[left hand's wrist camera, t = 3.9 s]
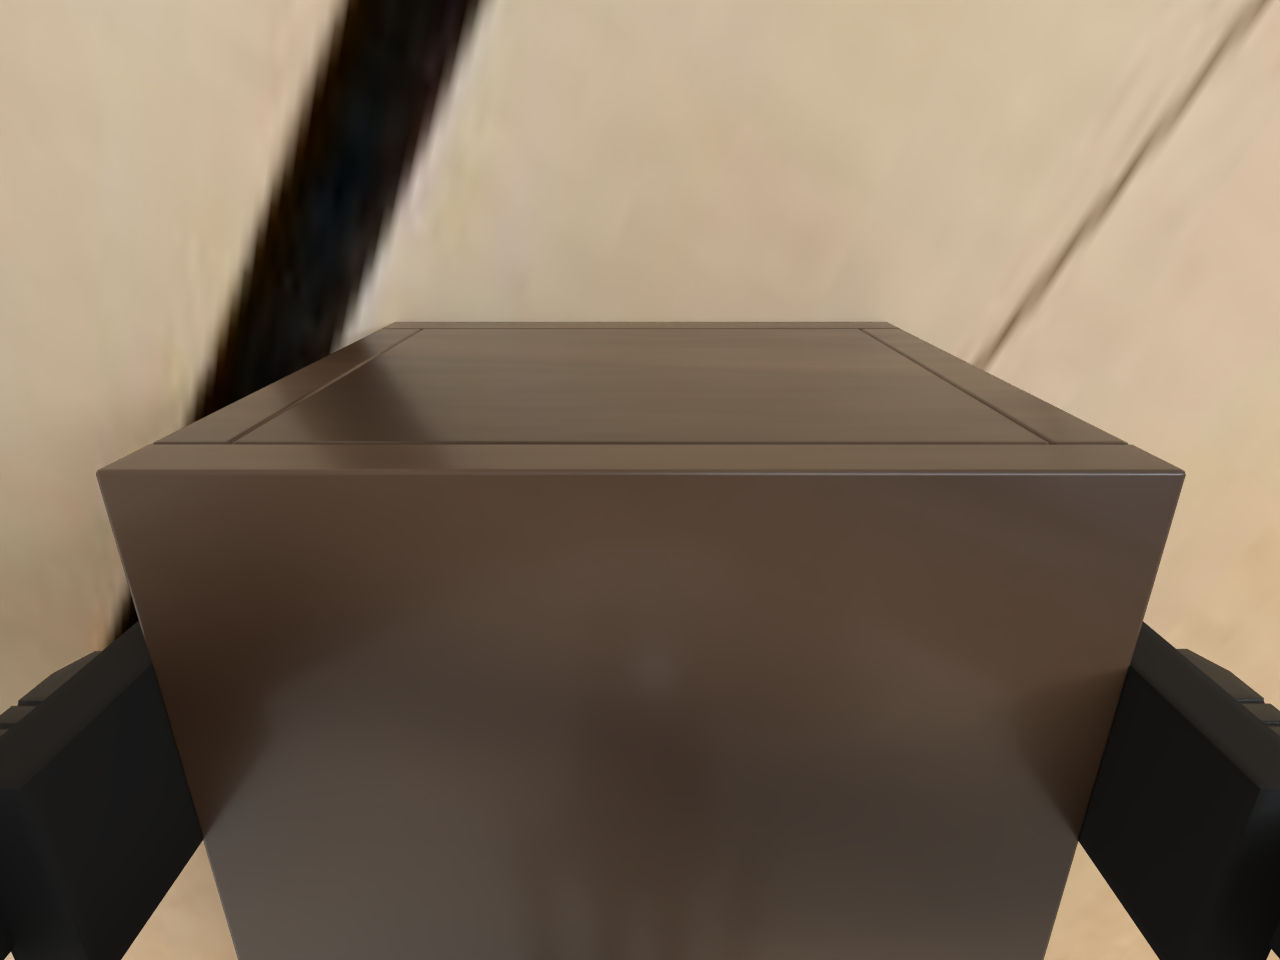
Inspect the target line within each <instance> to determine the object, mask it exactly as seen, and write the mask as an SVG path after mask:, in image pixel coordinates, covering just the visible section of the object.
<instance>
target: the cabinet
mask: <svg viewBox="0 0 1280 960" xmlns="http://www.w3.org/2000/svg"><path fill="white" fill-rule="evenodd" d="M96 476H97V479H98V482H99V486H100V489H101V493H102V496H103V500H104V503H105V506H106V510H107V513H108V517H109V520H110V523H111V527H112V530H113V534H114V537H115V540H116V544H117V547H118V551H119V554H120V558H121V561H122V564H123V568H124V571H125V575H126V578H127V581H128V585H129V588H130V592H131V595H132V598H133V602H134V605H135V609H136V612H137V616H138V619H139V622H140V626H141V629H142V633H143V636H144V639H145V643H146V646H147V650H148V653H149V656H150V660H151V663H152V667H153V670H154V674H155V677H156V680H157V684H158V687H159V691H160V694H161V697H162V701H163V704H164V708H165V711H166V714H167V718H168V721H169V725H170V728H171V732H172V735H173V738H174V742H175V745H176V749H177V752H178V755H179V759H180V762H181V766H182V769H183V772H184V776H185V779H186V783H187V786H188V790H189V793H190V796H191V800H192V803H193V807H194V810H195V813H196V817H197V820H198V824H199V827H200V830H201V834H202V837H203V841H204V844H205V848H206V851H207V854H208V858H209V861H210V865H211V868H212V871H213V875H214V878H215V882H216V885H217V888H218V892H219V895H220V899H221V902H222V906H223V909H224V912H225V916H226V919H227V923H228V926H229V929H230V933H231V936H232V940H233V943H234V946H235V950H236V953H237V957H238V960H1044V956H1045V953H1046V949H1047V946H1048V943H1049V939H1050V936H1051V932H1052V929H1053V926H1054V922H1055V919H1056V915H1057V912H1058V908H1059V905H1060V902H1061V898H1062V895H1063V891H1064V888H1065V885H1066V881H1067V878H1068V874H1069V871H1070V868H1071V864H1072V861H1073V857H1074V854H1075V850H1076V847H1077V844H1078V840H1079V837H1080V833H1081V830H1082V827H1083V823H1084V820H1085V816H1086V813H1087V810H1088V806H1089V803H1090V799H1091V796H1092V792H1093V789H1094V786H1095V782H1096V779H1097V775H1098V772H1099V769H1100V765H1101V762H1102V758H1103V755H1104V752H1105V748H1106V745H1107V741H1108V738H1109V734H1110V731H1111V728H1112V724H1113V721H1114V717H1115V714H1116V711H1117V707H1118V704H1119V700H1120V697H1121V694H1122V690H1123V687H1124V683H1125V680H1126V676H1127V673H1128V670H1129V666H1130V663H1131V659H1132V656H1133V653H1134V649H1135V646H1136V642H1137V639H1138V636H1139V632H1140V629H1141V625H1142V622H1143V618H1144V615H1145V612H1146V608H1147V605H1148V601H1149V598H1150V595H1151V591H1152V588H1153V584H1154V581H1155V578H1156V574H1157V571H1158V567H1159V564H1160V561H1161V557H1162V554H1163V550H1164V547H1165V543H1166V540H1167V537H1168V533H1169V530H1170V526H1171V523H1172V520H1173V516H1174V513H1175V509H1176V506H1177V503H1178V499H1179V496H1180V492H1181V489H1182V485H1183V482H1184V479H1185V472H1184V470H1182V469H1180V468H1178V467H1176V466H1174V465H1172V464H1170V463H1168V462H1166V461H1164V460H1162V459H1160V458H1158V457H1156V456H1154V455H1152V454H1150V453H1148V452H1146V451H1144V450H1142V449H1140V448H1138V447H1136V446H1134V445H1129V444H1128V443H1127V442H1125V441H1123V440H1121V439H1119V438H1117V437H1115V436H1113V435H1111V434H1109V433H1107V432H1105V431H1103V430H1101V429H1099V428H1097V427H1095V426H1093V425H1091V424H1089V423H1087V422H1085V421H1083V420H1081V419H1079V418H1077V417H1075V416H1073V415H1071V414H1069V413H1067V412H1065V411H1063V410H1061V409H1059V408H1057V407H1055V406H1053V405H1051V404H1049V403H1047V402H1045V401H1043V400H1041V399H1039V398H1037V397H1035V396H1033V395H1031V394H1029V393H1027V392H1025V391H1023V390H1021V389H1019V388H1017V387H1015V386H1013V385H1011V384H1009V383H1007V382H1005V381H1003V380H1001V379H999V378H997V377H995V376H993V375H991V374H989V373H987V372H985V371H983V370H981V369H979V368H977V367H975V366H973V365H971V364H969V363H967V362H965V361H963V360H961V359H959V358H957V357H955V356H953V355H951V354H949V353H947V352H945V351H943V350H941V349H939V348H937V347H935V346H933V345H931V344H929V343H927V342H925V341H923V340H921V339H919V338H917V337H915V336H913V335H911V334H909V333H907V332H905V331H903V330H901V329H900V328H898V327H896V326H894V325H892V324H890V323H887V322H395V323H393V324H391V325H389V326H387V327H385V328H383V329H381V330H379V331H377V332H375V333H373V334H371V335H369V336H367V337H365V338H363V339H361V340H359V341H357V342H354V343H352V344H350V345H348V346H346V347H344V348H342V349H340V350H338V351H336V352H334V353H332V354H330V355H328V356H326V357H324V358H322V359H320V360H318V361H316V362H314V363H312V364H310V365H308V366H306V367H304V368H302V369H300V370H298V371H296V372H294V373H292V374H290V375H288V376H286V377H284V378H282V379H280V380H278V381H276V382H274V383H272V384H270V385H268V386H266V387H264V388H262V389H260V390H258V391H256V392H254V393H252V394H250V395H248V396H246V397H244V398H242V399H240V400H238V401H236V402H234V403H232V404H230V405H228V406H226V407H224V408H222V409H220V410H218V411H216V412H214V413H212V414H210V415H208V416H206V417H204V418H202V419H200V420H198V421H196V422H194V423H192V424H190V425H188V426H186V427H184V428H182V429H180V430H178V431H176V432H174V433H172V434H170V435H168V436H166V437H164V438H162V439H160V440H158V441H156V442H154V443H153V444H150V445H148V446H146V447H144V448H142V449H140V450H138V451H136V452H134V453H132V454H130V455H128V456H126V457H124V458H122V459H120V460H118V461H116V462H114V463H112V464H110V465H108V466H106V467H104V468H102V469H100V470H98V471H97V474H96Z"/></svg>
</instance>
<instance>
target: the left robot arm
mask: <svg viewBox="0 0 1280 960" xmlns="http://www.w3.org/2000/svg"><path fill="white" fill-rule="evenodd" d="M18 702H19V703H18V706H11V707H10V708H9V709H8V710H6V711H5V712H4V713H3V714H1V715H0V960H4V959H5V958H6V957H7V955H8V954H9V953H10V952H12V954H13V957H14V959H15V960H121V959H122V958H123V956H124V955H125V953H126V952H127V950H128V949H129V947H130V946H131V944H132V943H133V941H134V940H135V939H136V937H137V936H138V934H139V933H140V931H141V930H142V928H143V927H144V925H145V924H146V922H147V921H148V919H149V918H150V917H151V915H152V914H153V912H154V911H155V909H156V908H157V906H158V905H159V903H160V902H161V900H162V899H163V898H164V896H165V895H166V893H167V892H168V890H169V889H170V887H171V886H172V884H173V883H174V881H175V880H176V879H177V877H178V876H179V874H180V873H181V871H182V870H183V868H184V867H185V865H186V864H187V862H188V861H189V860H190V858H191V857H192V855H193V854H194V852H195V851H196V849H197V848H198V846H199V845H200V843H201V842H202V841H203V837H202V834H201V830H200V827H199V824H198V820H197V817H196V813H195V810H194V807H193V803H192V800H191V796H190V793H189V790H188V786H187V783H186V779H185V776H184V772H183V769H182V766H181V762H180V759H179V755H178V752H177V749H176V745H175V742H174V738H173V735H172V732H171V728H170V725H169V721H168V718H167V714H166V711H165V708H164V704H163V701H162V697H161V694H160V691H159V687H158V684H157V680H156V677H155V674H154V670H153V667H152V663H151V660H150V656H149V653H148V650H147V646H146V643H145V639H144V636H143V633H142V629H141V626H140V622H139V621H138V622H137V623H135V624H134V625H133V626H132V627H131V628H129V629H128V630H127V631H126V632H125V633H123V634H122V635H121V636H120V637H119V638H117V639H116V640H115V641H114V642H113V643H112V644H110V645H109V646H108V647H107V648H106V649H104V650H103V651H95V652H93V653H91V654H89V655H87V656H85V657H83V658H81V659H79V660H77V661H76V662H74V663H72V664H70V665H68V666H66V667H64V668H62V669H60V670H58V671H57V672H55V673H53V674H51V675H50V676H49V677H47V678H46V679H45V680H44V681H42V682H41V683H40V684H39V685H38V686H36V687H35V688H34V689H33V690H31V691H30V692H29V693H28V694H26V695H25V696H24V697H23V698H21V699H20V700H19V701H18ZM1078 841H1079V842H1080V844H1081V845H1082V847H1083V848H1084V850H1085V851H1086V853H1087V854H1088V855H1089V857H1090V858H1091V860H1092V861H1093V863H1094V864H1095V866H1096V867H1097V869H1098V870H1099V872H1100V873H1101V874H1102V876H1103V877H1104V879H1105V880H1106V882H1107V883H1108V885H1109V886H1110V888H1111V889H1112V891H1113V892H1114V893H1115V895H1116V896H1117V898H1118V899H1119V901H1120V902H1121V904H1122V905H1123V907H1124V908H1125V910H1126V911H1127V912H1128V914H1129V915H1130V917H1131V918H1132V920H1133V921H1134V923H1135V924H1136V926H1137V927H1138V929H1139V930H1140V931H1141V933H1142V934H1143V936H1144V937H1145V939H1146V940H1147V942H1148V943H1149V945H1150V946H1151V948H1152V949H1153V950H1154V952H1155V953H1156V955H1157V956H1158V958H1159V959H1160V960H1266V959H1267V957H1268V955H1269V953H1270V950H1271V949H1272V950H1273V951H1274V952H1275V954H1276V955H1277V956H1278V957H1279V958H1280V711H1279V710H1278V709H1276V708H1275V707H1274V706H1273V705H1271V704H1265V703H1264V698H1263V697H1261V696H1260V695H1259V694H1258V693H1256V692H1255V691H1254V690H1253V689H1251V688H1250V687H1249V686H1248V685H1246V684H1245V683H1244V682H1243V681H1241V680H1240V679H1239V678H1238V677H1236V676H1235V675H1234V674H1233V673H1231V672H1230V671H1228V670H1226V669H1224V668H1222V667H1220V666H1219V665H1217V664H1215V663H1213V662H1211V661H1209V660H1207V659H1205V658H1203V657H1201V656H1199V655H1198V654H1196V653H1194V652H1192V651H1190V650H1188V649H1175V648H1174V647H1173V646H1172V645H1171V644H1169V643H1168V642H1167V641H1166V640H1165V639H1163V638H1162V637H1161V636H1160V635H1159V634H1157V633H1156V632H1155V631H1154V630H1153V629H1151V628H1150V627H1149V626H1148V625H1147V624H1145V623H1144V622H1142V625H1141V629H1140V632H1139V636H1138V639H1137V642H1136V646H1135V649H1134V653H1133V656H1132V659H1131V663H1130V666H1129V670H1128V673H1127V676H1126V680H1125V683H1124V687H1123V690H1122V694H1121V697H1120V700H1119V704H1118V707H1117V711H1116V714H1115V717H1114V721H1113V724H1112V728H1111V731H1110V734H1109V738H1108V741H1107V745H1106V748H1105V752H1104V755H1103V758H1102V762H1101V765H1100V769H1099V772H1098V775H1097V779H1096V782H1095V786H1094V789H1093V792H1092V796H1091V799H1090V803H1089V806H1088V810H1087V813H1086V816H1085V820H1084V823H1083V827H1082V830H1081V833H1080V837H1079V840H1078Z"/></svg>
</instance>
